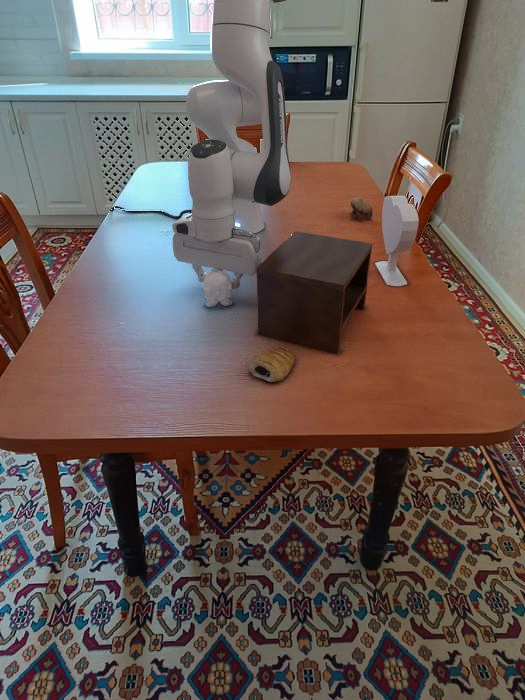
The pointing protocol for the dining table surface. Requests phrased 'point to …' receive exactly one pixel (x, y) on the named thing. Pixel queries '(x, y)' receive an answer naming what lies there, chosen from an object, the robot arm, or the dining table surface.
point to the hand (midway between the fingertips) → (218, 284)
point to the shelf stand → (312, 289)
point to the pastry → (273, 363)
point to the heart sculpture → (397, 236)
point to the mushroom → (360, 209)
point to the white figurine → (217, 288)
